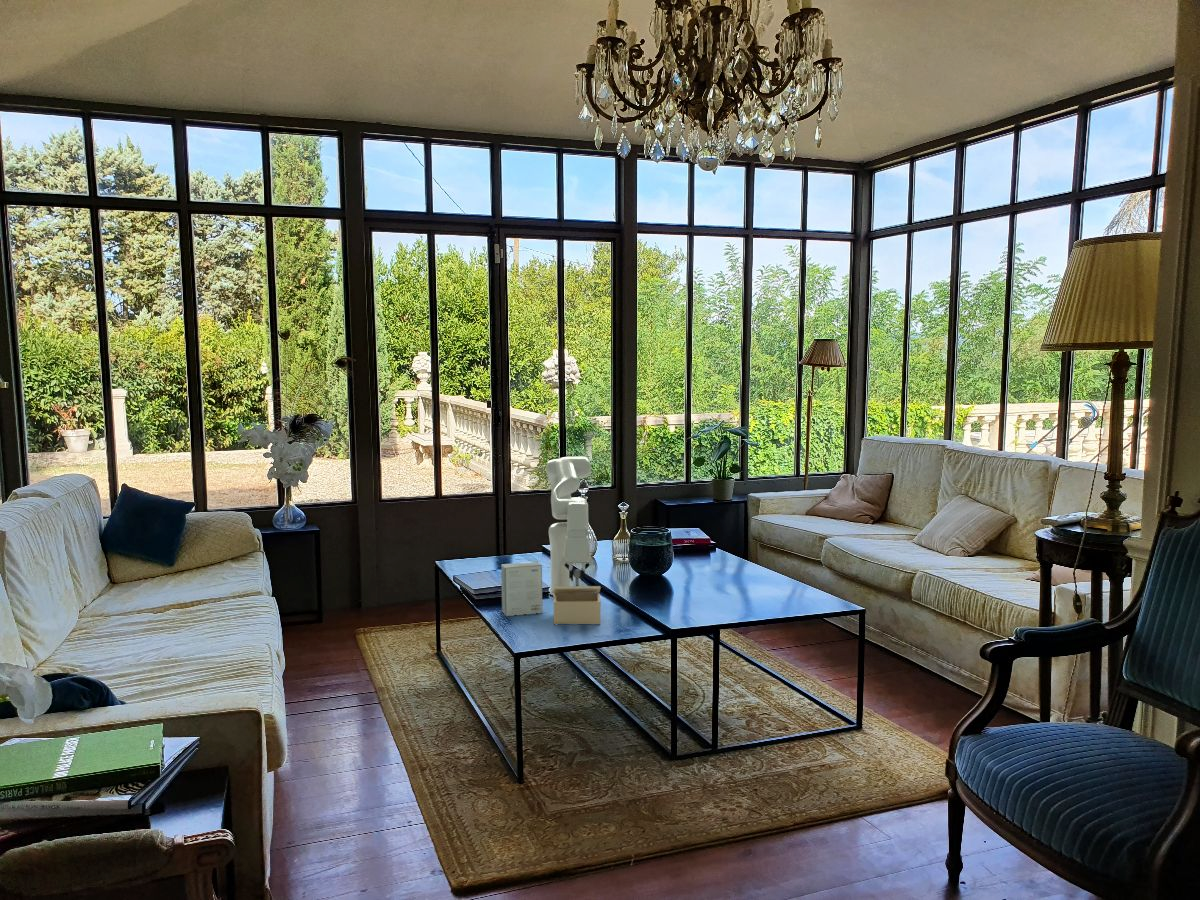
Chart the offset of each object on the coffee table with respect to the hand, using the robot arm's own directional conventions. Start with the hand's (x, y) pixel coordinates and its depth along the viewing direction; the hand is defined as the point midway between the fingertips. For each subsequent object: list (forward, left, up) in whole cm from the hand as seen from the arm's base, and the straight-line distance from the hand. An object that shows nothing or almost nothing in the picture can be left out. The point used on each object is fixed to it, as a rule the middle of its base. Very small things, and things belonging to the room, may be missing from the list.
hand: (577, 579), depth 329 cm
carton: (-2, 0, -17) cm, 17 cm away
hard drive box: (-13, -22, -17) cm, 31 cm away
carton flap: (-3, 0, -5) cm, 6 cm away
